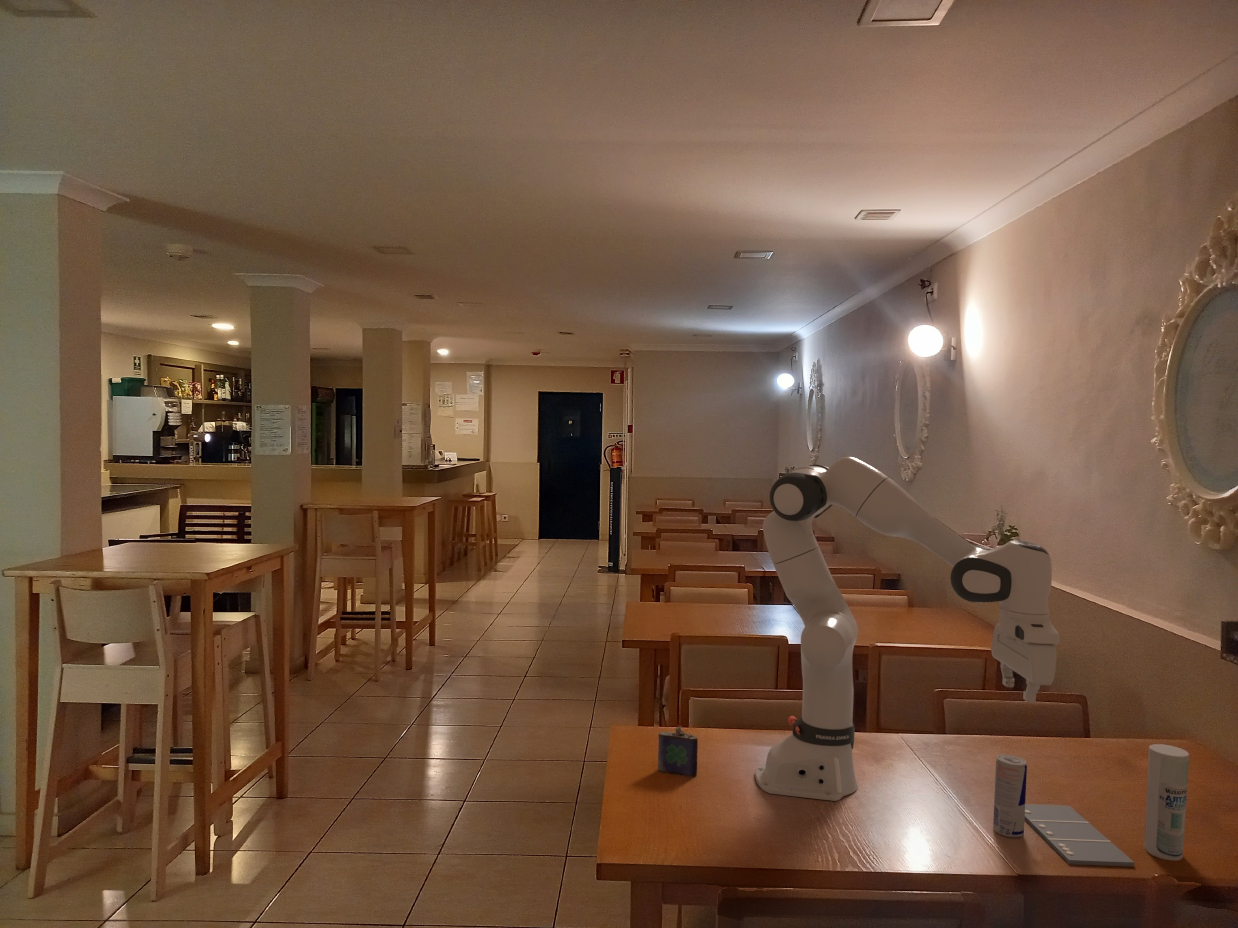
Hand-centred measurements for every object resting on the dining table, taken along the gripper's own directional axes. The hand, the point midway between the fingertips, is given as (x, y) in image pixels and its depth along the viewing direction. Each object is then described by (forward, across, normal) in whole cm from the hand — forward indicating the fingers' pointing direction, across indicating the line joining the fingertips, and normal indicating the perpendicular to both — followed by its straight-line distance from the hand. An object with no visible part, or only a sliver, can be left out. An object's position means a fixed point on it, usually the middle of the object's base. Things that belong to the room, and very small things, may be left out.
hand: (1018, 693), depth 168 cm
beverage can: (+29, -1, 0) cm, 29 cm away
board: (+28, -1, +12) cm, 31 cm away
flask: (+30, -24, -65) cm, 76 cm away
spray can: (+28, +5, +27) cm, 40 cm away
